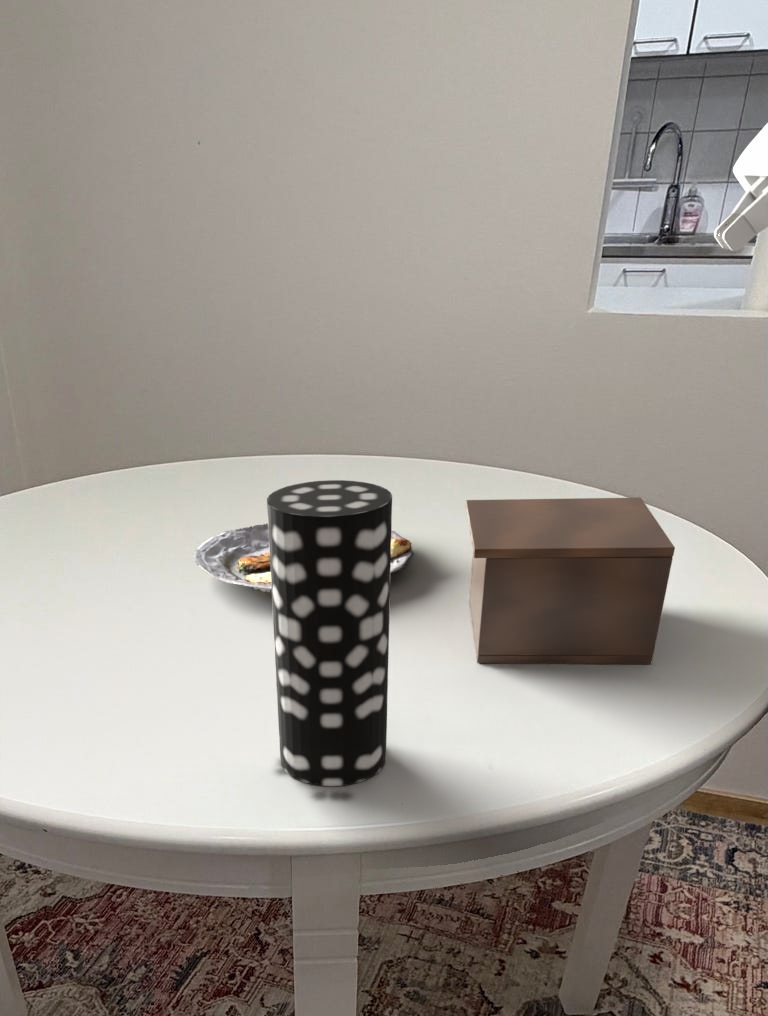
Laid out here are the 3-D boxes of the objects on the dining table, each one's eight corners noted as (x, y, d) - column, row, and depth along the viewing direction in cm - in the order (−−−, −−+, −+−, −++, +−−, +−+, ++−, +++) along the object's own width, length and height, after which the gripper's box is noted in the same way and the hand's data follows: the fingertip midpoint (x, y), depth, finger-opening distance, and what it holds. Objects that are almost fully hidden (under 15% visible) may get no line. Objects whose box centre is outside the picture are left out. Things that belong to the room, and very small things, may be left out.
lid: (474, 558, 82) (474, 549, 82) (465, 508, 94) (466, 499, 93) (673, 556, 80) (675, 547, 80) (639, 505, 92) (640, 497, 92)
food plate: (349, 524, 123) (349, 496, 121) (452, 578, 106) (454, 546, 104) (167, 560, 114) (164, 530, 112) (248, 624, 97) (245, 591, 95)
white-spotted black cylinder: (277, 787, 72) (262, 518, 60) (283, 733, 78) (270, 482, 67) (388, 786, 71) (394, 514, 59) (384, 732, 78) (389, 478, 66)
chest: (476, 663, 88) (485, 558, 82) (468, 603, 100) (476, 508, 94) (651, 664, 86) (673, 557, 80) (622, 603, 98) (639, 506, 92)
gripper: (997, 101, 59) (791, 290, 66) (866, 114, 75) (712, 265, 82) (946, 11, 57) (738, 216, 64) (823, 45, 73) (668, 205, 80)
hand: (723, 243), depth 73 cm, fingers closed
